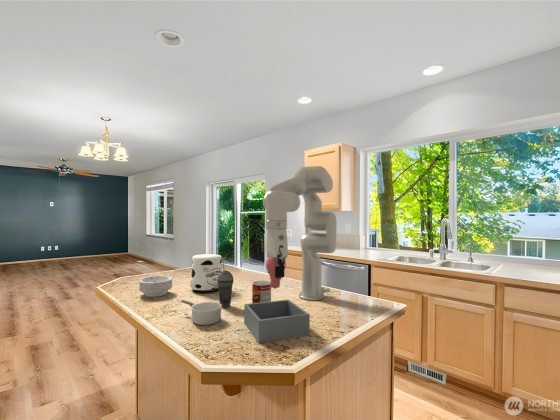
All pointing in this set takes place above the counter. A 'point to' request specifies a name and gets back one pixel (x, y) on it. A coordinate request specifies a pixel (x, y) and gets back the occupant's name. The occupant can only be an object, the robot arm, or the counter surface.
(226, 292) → the beverage cup
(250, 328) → the bin
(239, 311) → the counter surface
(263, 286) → the canned food
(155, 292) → the paper bowls
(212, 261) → the milk container
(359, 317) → the counter surface
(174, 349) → the counter surface
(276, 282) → the pink rounded bulb shape
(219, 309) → the saucepan
